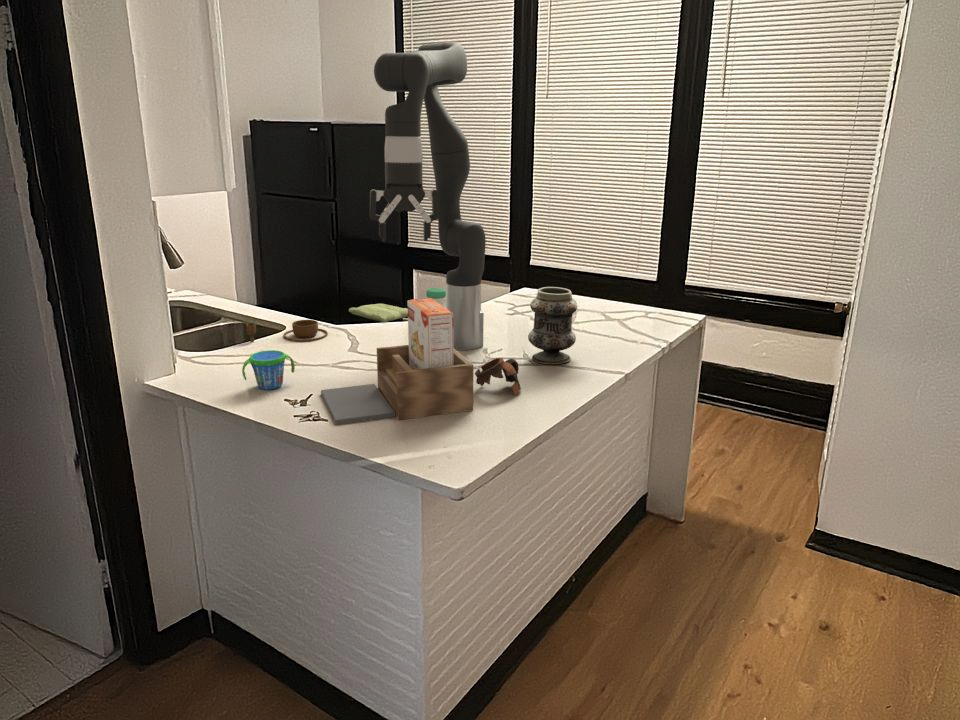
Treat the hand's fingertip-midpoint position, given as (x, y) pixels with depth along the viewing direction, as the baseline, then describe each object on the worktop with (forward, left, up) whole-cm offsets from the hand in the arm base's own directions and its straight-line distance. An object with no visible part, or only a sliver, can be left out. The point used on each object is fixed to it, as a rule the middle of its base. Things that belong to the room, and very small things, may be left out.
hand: (405, 240), depth 150 cm
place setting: (+19, -53, -35) cm, 66 cm away
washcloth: (-10, -67, -34) cm, 76 cm away
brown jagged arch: (-22, +6, -35) cm, 42 cm away
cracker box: (-3, +5, -34) cm, 34 cm away
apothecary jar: (-41, -11, -34) cm, 54 cm away
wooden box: (-2, +6, -34) cm, 34 cm away
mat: (+12, +4, -34) cm, 36 cm away
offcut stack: (+3, +5, -34) cm, 34 cm away
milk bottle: (-11, -12, -34) cm, 38 cm away
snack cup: (+28, -14, -34) cm, 47 cm away
